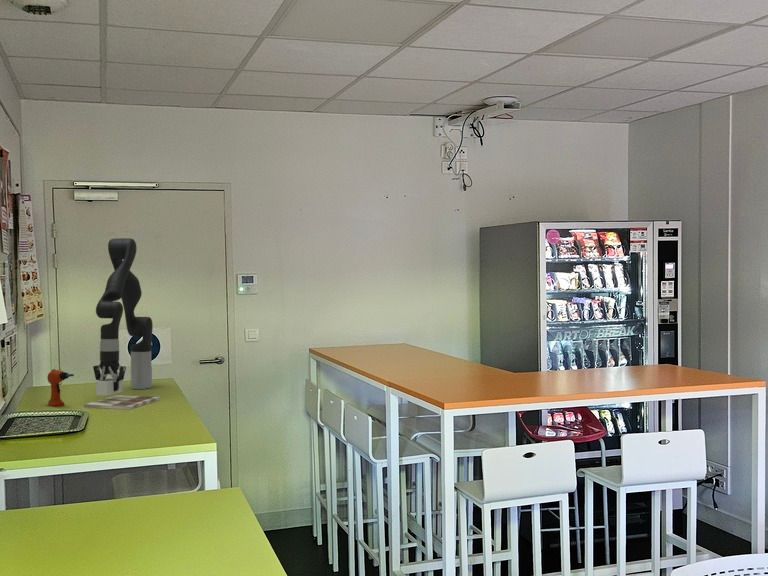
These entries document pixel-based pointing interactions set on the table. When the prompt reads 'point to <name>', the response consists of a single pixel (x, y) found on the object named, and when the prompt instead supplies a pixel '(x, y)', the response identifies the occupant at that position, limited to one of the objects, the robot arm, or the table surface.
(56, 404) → the toy drill
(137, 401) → the subfloor panel
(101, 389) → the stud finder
